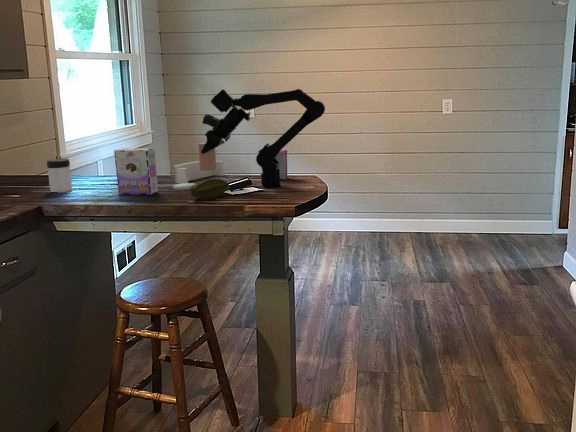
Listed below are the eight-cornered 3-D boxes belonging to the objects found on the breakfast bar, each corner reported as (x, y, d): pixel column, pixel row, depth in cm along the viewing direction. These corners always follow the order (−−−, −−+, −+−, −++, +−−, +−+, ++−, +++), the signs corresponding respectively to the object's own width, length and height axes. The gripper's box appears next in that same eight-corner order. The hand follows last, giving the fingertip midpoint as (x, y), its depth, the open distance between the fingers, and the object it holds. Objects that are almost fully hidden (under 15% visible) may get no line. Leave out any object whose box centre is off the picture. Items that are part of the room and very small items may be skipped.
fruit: (196, 195, 223) (195, 177, 222) (230, 194, 222) (229, 176, 220) (188, 202, 212) (187, 182, 210) (223, 201, 211) (222, 182, 209)
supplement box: (285, 180, 247) (284, 151, 244) (270, 180, 248) (269, 151, 245) (288, 177, 252) (287, 149, 250) (273, 177, 253) (272, 149, 251)
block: (216, 168, 238) (214, 142, 236) (213, 170, 233) (211, 143, 231) (203, 168, 239) (201, 142, 236) (200, 170, 234) (198, 143, 232)
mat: (197, 185, 243) (197, 182, 243) (197, 189, 235) (197, 186, 234) (173, 186, 242) (173, 183, 242) (173, 190, 234) (172, 187, 233)
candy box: (159, 192, 231) (155, 147, 228) (150, 195, 226) (146, 149, 222) (126, 191, 236) (122, 147, 232) (117, 194, 230) (113, 149, 227)
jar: (73, 191, 239) (69, 160, 236) (50, 193, 236) (46, 162, 234) (72, 188, 247) (68, 157, 245) (50, 190, 245) (46, 159, 242)
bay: (224, 175, 264) (223, 159, 262) (186, 184, 246) (184, 166, 245) (213, 174, 267) (212, 158, 266) (175, 182, 250) (173, 165, 248)
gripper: (220, 105, 239) (193, 134, 243) (209, 107, 221) (180, 140, 225) (241, 125, 240) (215, 154, 244) (232, 129, 222) (204, 161, 226)
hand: (203, 152), depth 235 cm, fingers closed on block, 5 cm apart
